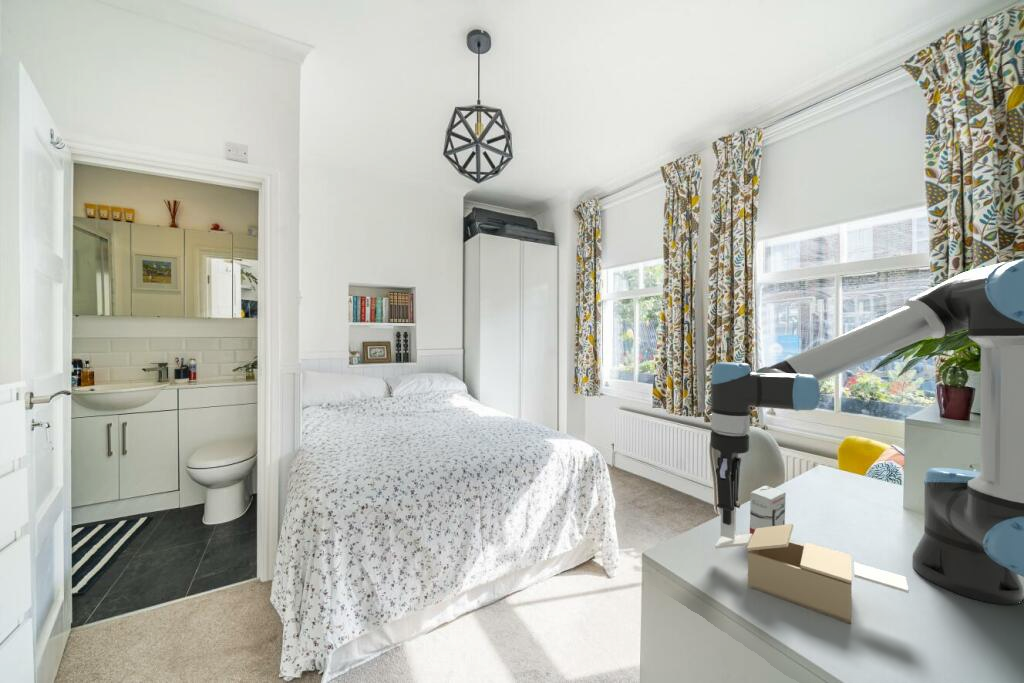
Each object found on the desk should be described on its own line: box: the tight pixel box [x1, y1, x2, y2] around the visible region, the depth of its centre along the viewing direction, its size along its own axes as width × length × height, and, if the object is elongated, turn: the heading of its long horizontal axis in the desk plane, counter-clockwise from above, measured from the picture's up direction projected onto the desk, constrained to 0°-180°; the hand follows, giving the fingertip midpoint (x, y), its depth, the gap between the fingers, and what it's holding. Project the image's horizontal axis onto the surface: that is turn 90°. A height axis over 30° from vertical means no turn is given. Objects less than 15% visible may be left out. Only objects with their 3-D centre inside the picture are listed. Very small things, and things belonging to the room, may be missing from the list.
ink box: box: [749, 485, 787, 535], centre depth 99 cm, size 8×5×12 cm, turn 123°
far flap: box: [714, 523, 794, 552], centre depth 84 cm, size 15×11×1 cm
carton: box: [747, 540, 853, 625], centre depth 79 cm, size 16×11×7 cm
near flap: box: [800, 542, 910, 594], centre depth 74 cm, size 15×11×1 cm
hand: (728, 536), depth 87 cm, fingers closed
